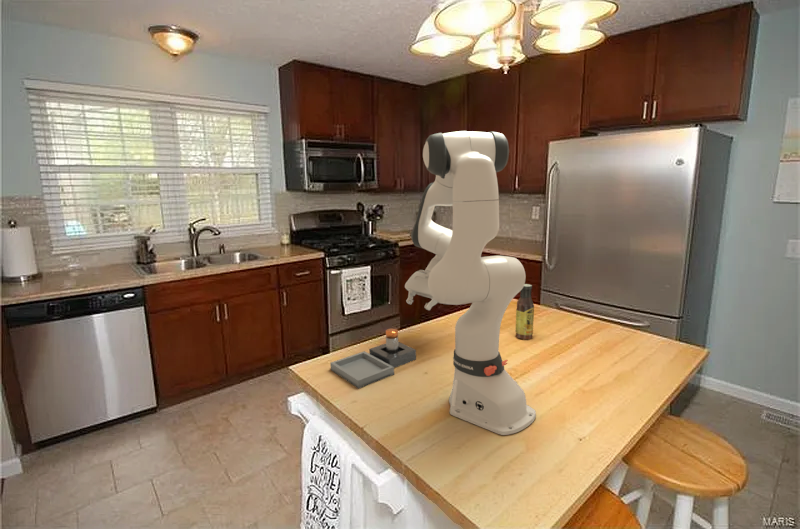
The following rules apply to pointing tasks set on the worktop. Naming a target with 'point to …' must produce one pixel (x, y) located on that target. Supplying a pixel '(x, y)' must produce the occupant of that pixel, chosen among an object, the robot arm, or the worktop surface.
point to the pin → (392, 341)
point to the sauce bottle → (525, 314)
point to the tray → (362, 369)
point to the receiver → (397, 358)
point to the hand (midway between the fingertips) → (417, 306)
